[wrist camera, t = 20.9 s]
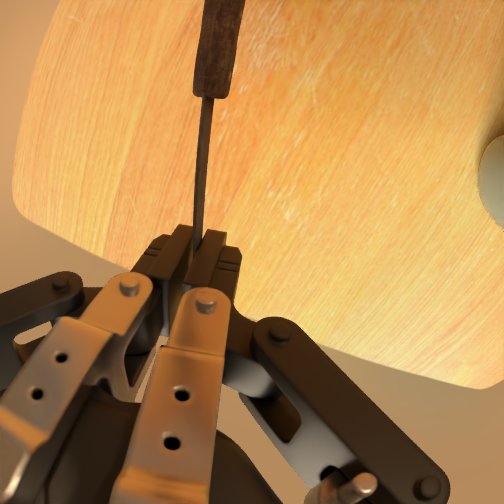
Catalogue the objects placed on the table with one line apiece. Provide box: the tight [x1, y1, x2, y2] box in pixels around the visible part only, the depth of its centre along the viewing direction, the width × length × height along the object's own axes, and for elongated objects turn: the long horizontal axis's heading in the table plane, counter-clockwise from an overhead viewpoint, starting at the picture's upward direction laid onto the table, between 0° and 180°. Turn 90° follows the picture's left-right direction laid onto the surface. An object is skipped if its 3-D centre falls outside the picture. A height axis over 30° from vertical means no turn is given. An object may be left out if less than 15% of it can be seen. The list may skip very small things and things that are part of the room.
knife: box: [193, 0, 245, 258], centre depth 8 cm, size 16×1×2 cm, turn 173°
